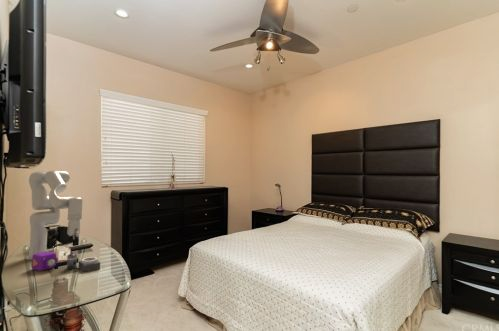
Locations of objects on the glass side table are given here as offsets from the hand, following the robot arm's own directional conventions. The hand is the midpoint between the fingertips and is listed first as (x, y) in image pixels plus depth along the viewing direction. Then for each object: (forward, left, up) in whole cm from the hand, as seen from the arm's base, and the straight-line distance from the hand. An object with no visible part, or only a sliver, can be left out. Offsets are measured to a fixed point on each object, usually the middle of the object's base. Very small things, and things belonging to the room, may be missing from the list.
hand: (73, 244), depth 168 cm
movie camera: (-65, +3, -15) cm, 67 cm away
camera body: (+7, +8, -15) cm, 18 cm away
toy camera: (-9, -12, -15) cm, 21 cm away
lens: (0, 0, -15) cm, 15 cm away
